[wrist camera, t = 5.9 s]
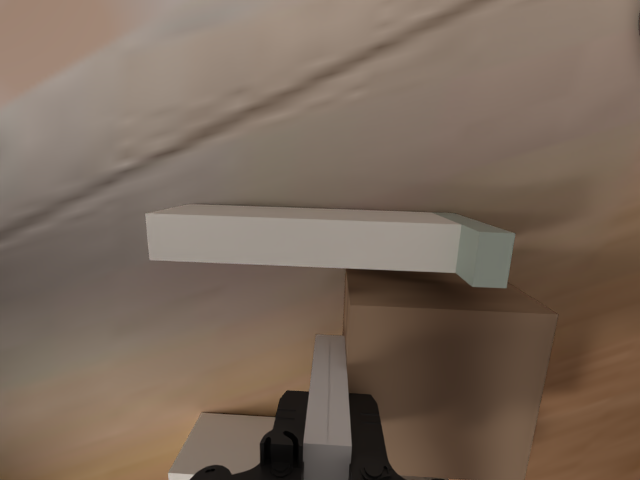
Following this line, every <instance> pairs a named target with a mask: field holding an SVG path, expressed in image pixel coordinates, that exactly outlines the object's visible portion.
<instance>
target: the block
mask: <svg viewBox="0 0 640 480" xmlns="http://www.w3.org/2000/svg"><path fill="white" fill-rule="evenodd" d="M558 315H559V314H557V313H555V312H554V311H552V310H551V309H549V308H547V307H546V306H544V305H543V304H541V303H540V302H538V301H536V300H535V299H533V298H532V297H530V296H528V295H527V294H525V293H524V292H522V291H521V290H519V289H517V288H516V287H514V286H513V285H511V284H509V283H508V282H507V288H488V287H472V286H471V285H469V284H468V283H467V282H466V281H465V280H463V279H462V278H461V277H460V276H459V275H457V274H456V273H445V272H421V271H397V270H373V269H349V268H346V273H345V294H344V314H343V335H342V336H345V351H346V366H347V378H348V393H357V394H371V395H372V397H373V398H374V399H375V401H376V402H377V404H378V409H379V416H380V420H381V425H382V431H383V436H384V441H385V447H386V452H387V457H388V460H389V463H390V465H391V466H392V468H393V469H394V470H395V472H396V473H397V474H399V475H403V476H419V477H434V478H449V479H464V480H525V476H526V471H527V466H528V461H529V456H530V451H531V446H532V442H533V437H534V432H535V427H536V422H537V417H538V412H539V407H540V402H541V398H542V393H543V388H544V383H545V378H546V373H547V368H548V363H549V359H550V354H551V349H552V344H553V339H554V334H555V329H556V324H557V320H558Z"/></svg>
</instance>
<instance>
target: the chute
mask: <svg viewBox="0 0 640 480" xmlns="http://www.w3.org/2000/svg"><path fill="white" fill-rule="evenodd" d="M145 217H146V228H147V239H148V251H149V260H156V261H180V262H205V263H229V264H253V265H277V266H301V267H325V268H349V269H373V270H397V271H421V272H445V273H456V274H457V275H459V276H460V277H461V278H462V279H463V280H465V281H466V282H467V283H468V284H469V285H471V286H472V287H488V288H507V282H508V276H509V270H510V263H511V257H512V251H513V245H514V239H515V233H513V232H510V231H507V230H504V229H501V228H498V227H495V226H492V225H489V224H486V223H483V222H480V221H477V220H474V219H471V218H468V217H465V216H462V215H459V214H456V213H437V212H408V211H379V210H351V209H322V208H293V207H264V206H235V205H206V204H187V205H182V206H177V207H172V208H168V209H163V210H158V211H154V212H149V213H145ZM274 421H275V417H264V416H247V415H231V414H214V413H201V414H200V416H199V418H198V420H197V422H196V423H195V425H194V427H193V429H192V431H191V433H190V434H189V436H188V438H187V440H186V442H185V443H184V445H183V447H182V449H181V451H180V452H179V454H178V456H177V458H176V460H175V461H174V463H173V465H172V467H171V469H170V470H169V472H168V477H169V480H190V479H191V478H192V477H193V476H194V475H195V473H196V472H198V471H199V470H201V469H203V468H205V467H207V466H211V465H222V466H224V467H226V468H228V469H229V470H230V472H231V474H236V473H240V472H244V471H247V470H250V469H252V468H254V467H255V466H257V465H258V464H259V463H260V442H261V440H262V438H263V436H264V435H265V434H266V433H268V432H269V431H271V430H273V425H274ZM400 476H401V477H403V478H404V479H406V480H431V479H433V478H434V477H419V476H403V475H400ZM437 479H444V480H448V478H437Z"/></svg>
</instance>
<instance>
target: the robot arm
mask: <svg viewBox="0 0 640 480" xmlns="http://www.w3.org/2000/svg"><path fill="white" fill-rule="evenodd" d="M190 480H406V479H404V478H403V477H401V476H400V475H399V474H397V473H396V472H395V470H394V469H393V468H392V466H391V465H390V463H389V460H388V457H387V452H386V447H385V441H384V436H383V431H382V425H381V420H380V416H379V409H378V404H377V402H376V401H375V399H374V398H373V397H372V395H371V394H357V393H348V378H347V366H346V351H345V336H338V335H318V334H316V338H315V346H314V355H313V363H312V372H311V381H310V389H309V392H306V391H289V390H287V391H286V392H285V393H284V395H283V396H282V397H281V398H280V401H279V405H278V409H277V413H276V417H275V421H274V425H273V430H271V431H269V432H268V433H266V434H265V435H264V436H263V438H262V440H261V442H260V463H259V464H258V465H257V466H255V467H254V468H252V469H250V470H247V471H244V472H240V473H236V474H231V472H230V470H229V469H228V468H226V467H224V466H222V465H211V466H207V467H205V468H203V469H201V470H199V471H198V472H196V473H195V475H194V476H193V477H192V478H191V479H190ZM431 480H444V479H437V478H433V479H431Z"/></svg>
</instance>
